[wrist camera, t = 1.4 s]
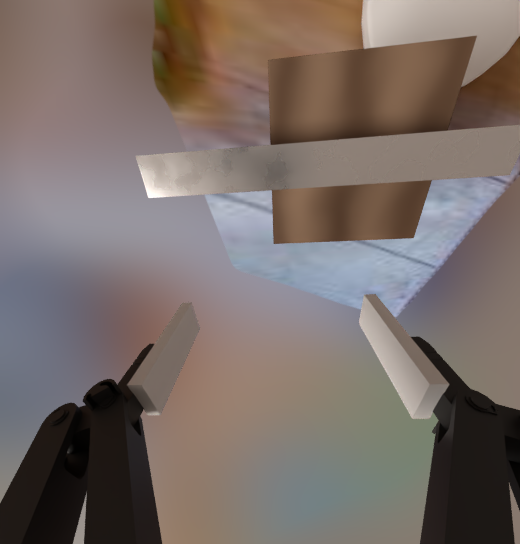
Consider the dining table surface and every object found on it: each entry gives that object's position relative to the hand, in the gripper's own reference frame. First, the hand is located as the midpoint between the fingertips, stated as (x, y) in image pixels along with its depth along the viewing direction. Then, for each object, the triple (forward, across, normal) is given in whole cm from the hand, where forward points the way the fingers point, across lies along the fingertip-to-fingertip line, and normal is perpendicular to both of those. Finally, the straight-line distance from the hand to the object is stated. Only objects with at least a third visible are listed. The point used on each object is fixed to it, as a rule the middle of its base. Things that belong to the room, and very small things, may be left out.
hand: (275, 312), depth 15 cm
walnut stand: (+38, +8, +9) cm, 40 cm away
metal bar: (+10, +4, +10) cm, 15 cm away
